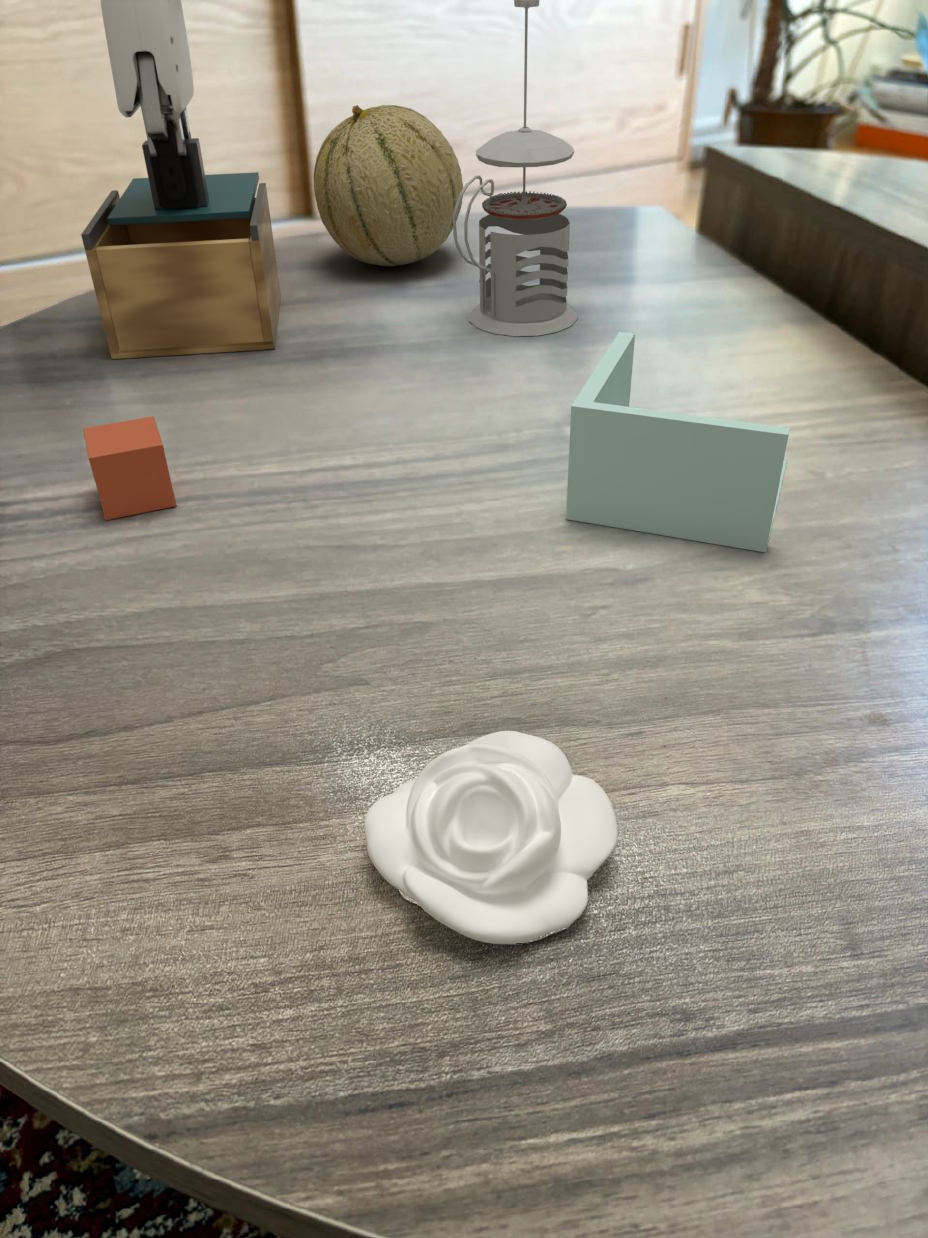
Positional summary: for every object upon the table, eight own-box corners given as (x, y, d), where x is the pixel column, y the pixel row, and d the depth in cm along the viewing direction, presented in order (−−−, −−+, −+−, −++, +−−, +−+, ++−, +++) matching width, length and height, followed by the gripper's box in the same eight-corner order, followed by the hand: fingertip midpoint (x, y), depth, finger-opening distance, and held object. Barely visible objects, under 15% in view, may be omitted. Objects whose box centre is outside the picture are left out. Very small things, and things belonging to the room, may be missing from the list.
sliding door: (108, 225, 82) (91, 152, 79) (134, 184, 93) (120, 119, 90) (250, 217, 83) (239, 145, 80) (259, 178, 94) (250, 113, 91)
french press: (600, 319, 88) (620, -14, 73) (494, 350, 83) (492, -1, 68) (533, 290, 95) (538, -21, 80) (430, 316, 90) (416, -10, 75)
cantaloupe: (493, 258, 103) (493, 97, 94) (394, 296, 94) (382, 123, 85) (392, 233, 111) (382, 82, 102) (291, 266, 102) (271, 104, 93)
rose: (584, 678, 42) (658, 855, 35) (579, 753, 45) (647, 933, 37) (350, 709, 41) (372, 899, 33) (359, 784, 44) (382, 976, 36)
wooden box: (111, 359, 83) (80, 233, 77) (136, 304, 94) (111, 190, 88) (274, 349, 84) (257, 224, 78) (280, 295, 95) (265, 182, 89)
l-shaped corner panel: (765, 552, 58) (788, 434, 53) (566, 519, 61) (571, 405, 57) (787, 459, 67) (808, 352, 62) (611, 434, 70) (619, 331, 66)
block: (105, 520, 62) (88, 457, 60) (99, 488, 66) (83, 427, 63) (176, 506, 64) (162, 444, 61) (167, 475, 67) (153, 415, 64)
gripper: (101, -64, 79) (150, 181, 90) (57, -53, 67) (120, 231, 78) (196, -67, 80) (233, 177, 91) (171, -57, 67) (217, 225, 78)
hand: (181, 200), depth 84 cm, fingers closed on sliding door, 2 cm apart
